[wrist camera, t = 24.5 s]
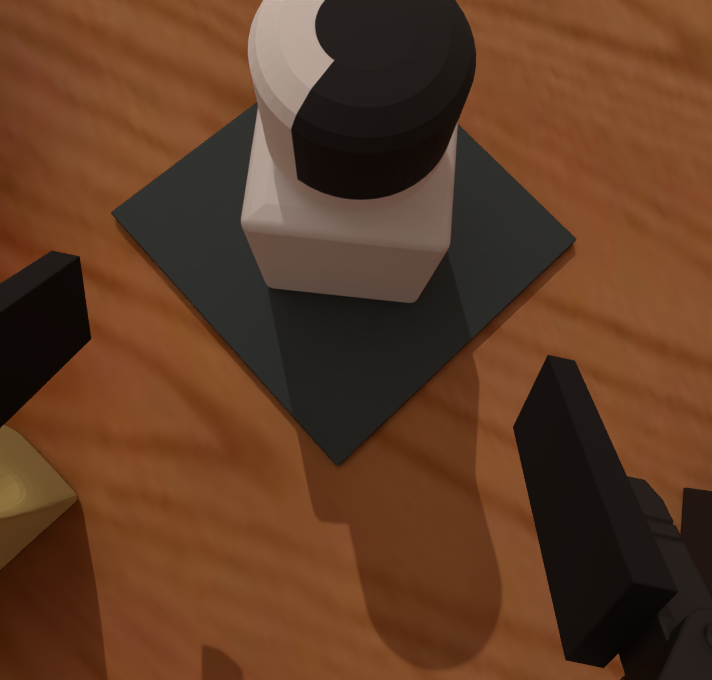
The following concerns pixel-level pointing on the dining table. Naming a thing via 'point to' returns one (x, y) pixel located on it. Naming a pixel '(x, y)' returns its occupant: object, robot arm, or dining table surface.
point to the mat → (334, 312)
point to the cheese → (27, 494)
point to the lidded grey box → (698, 530)
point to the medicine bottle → (355, 142)
